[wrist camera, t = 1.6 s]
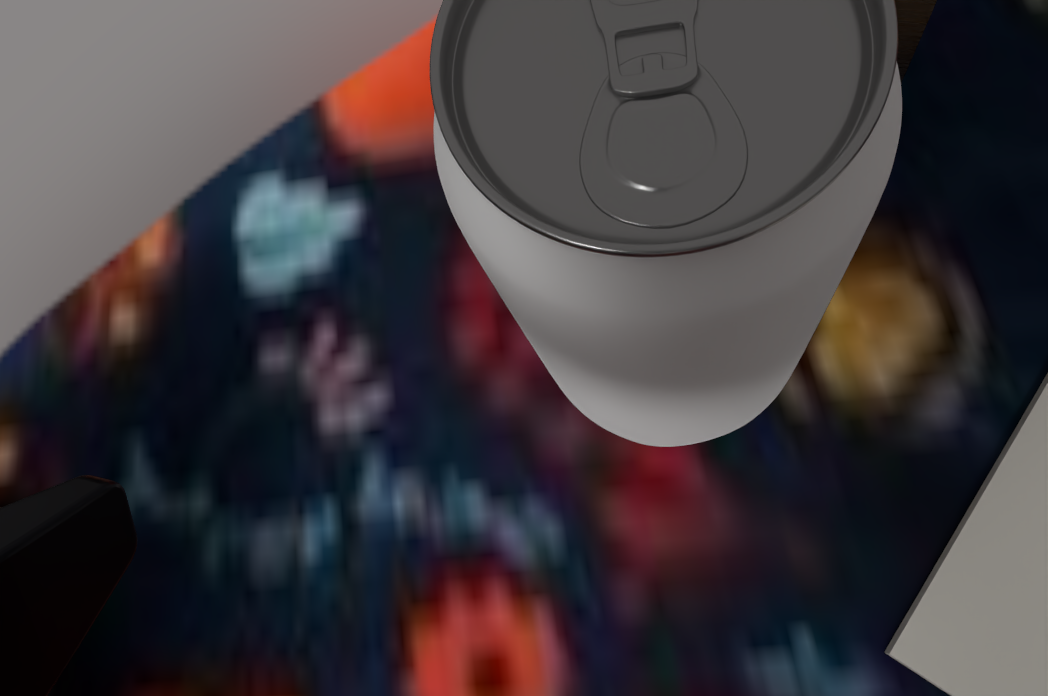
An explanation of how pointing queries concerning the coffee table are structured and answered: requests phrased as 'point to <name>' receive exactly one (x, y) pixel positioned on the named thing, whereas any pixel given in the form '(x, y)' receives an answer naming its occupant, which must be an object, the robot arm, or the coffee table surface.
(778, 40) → the can
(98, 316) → the coffee table surface
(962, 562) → the pad
